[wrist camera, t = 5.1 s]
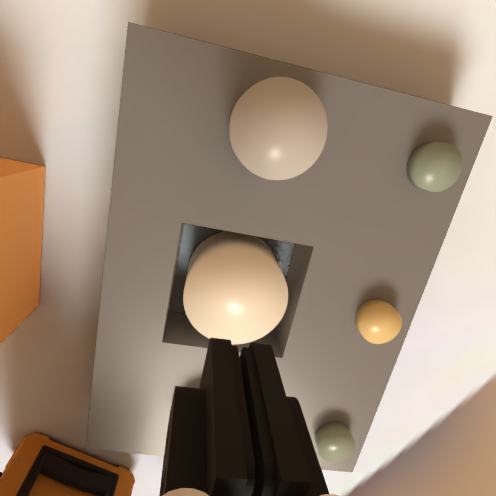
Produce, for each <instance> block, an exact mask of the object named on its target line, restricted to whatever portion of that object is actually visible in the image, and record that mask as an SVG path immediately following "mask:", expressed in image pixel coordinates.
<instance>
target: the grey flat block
mask: <svg viewBox="0 0 496 496" xmlns="http://www.w3.org/2000/svg"><path fill="white" fill-rule="evenodd" d="M491 119H492V116H489V115H486V114H482V113H478V112H474V111H470V110H466V109H462V108H458V107H455V106H451V105H447V104H443V103H439V102H435V101H431V100H428V99H424V98H420V97H416V96H412V95H408V94H404V93H400V92H397V91H393V90H389V89H385V88H381V87H377V86H373V85H370V84H366V83H362V82H358V81H354V80H350V79H346V78H343V77H339V76H335V75H331V74H327V73H323V72H319V71H315V70H312V69H308V68H304V67H300V66H296V65H292V64H288V63H285V62H281V61H277V60H273V59H269V58H265V57H261V56H257V55H254V54H250V53H246V52H242V51H238V50H234V49H230V48H227V47H223V46H219V45H215V44H211V43H207V42H203V41H199V40H196V39H192V38H188V37H184V36H180V35H176V34H172V33H169V32H165V31H161V30H157V29H153V28H149V27H145V26H142V25H138V24H134V23H130V22H128V30H127V40H126V50H125V60H124V70H123V80H122V89H121V99H120V109H119V119H118V129H117V139H116V149H115V159H114V169H113V179H112V189H111V199H110V209H109V219H108V229H107V238H106V248H105V258H104V268H103V278H102V288H101V298H100V308H99V318H98V328H97V338H96V348H95V358H94V368H93V378H92V387H91V397H90V407H89V417H88V427H87V437H86V447H85V449H89V450H101V451H112V452H124V453H135V454H147V455H159V456H164V452H165V444H166V436H167V429H168V422H169V416H170V410H171V405H172V399H173V394H174V389H175V386H181V387H192V388H199V386H200V382H201V377H202V372H203V368H204V363H205V358H206V353H207V349H208V344H209V340H210V339H209V338H207V337H205V336H204V335H202V334H201V333H200V332H198V331H197V330H196V329H195V328H194V327H193V325H192V324H191V322H190V321H189V319H188V317H187V315H186V314H181V313H174V312H169V310H170V304H171V298H172V292H173V286H174V280H175V274H176V268H177V262H178V256H179V250H180V244H181V238H182V232H183V226H184V223H186V224H191V225H197V226H202V227H208V228H213V229H219V230H224V231H230V232H235V233H241V234H246V235H252V236H257V237H263V238H268V239H274V240H279V241H285V242H290V243H295V247H294V251H293V254H292V258H291V262H290V266H289V270H288V273H287V277H286V283H287V288H288V303H287V308H286V310H285V313H284V315H283V317H282V319H281V320H280V322H279V323H278V324H277V326H276V327H275V328H274V329H273V330H272V331H270V332H269V333H268V334H266V335H265V336H263V337H262V338H260V339H258V340H255V341H252V343H261V344H269V345H271V346H272V348H273V352H274V355H275V359H276V362H277V366H278V369H279V372H280V376H281V379H282V383H283V386H284V390H285V393H286V396H289V397H296V398H297V399H298V401H299V403H300V406H301V409H302V412H303V415H304V418H305V421H306V424H307V427H308V430H309V434H310V437H311V440H312V443H313V446H314V449H315V452H316V455H317V458H318V461H319V464H320V467H321V469H322V470H333V471H345V472H353V470H354V467H355V465H356V462H357V459H358V457H359V454H360V452H361V449H362V447H363V444H364V442H365V439H366V437H367V434H368V432H369V429H370V426H371V424H372V421H373V419H374V416H375V414H376V411H377V409H378V406H379V404H380V401H381V399H382V396H383V393H384V391H385V388H386V386H387V383H388V381H389V378H390V376H391V373H392V371H393V368H394V365H395V363H396V360H397V358H398V355H399V353H400V350H401V348H402V345H403V343H404V340H405V338H406V335H407V332H408V330H409V327H410V325H411V322H412V320H413V317H414V315H415V312H416V310H417V307H418V304H419V302H420V299H421V297H422V294H423V292H424V289H425V287H426V284H427V282H428V279H429V277H430V274H431V271H432V269H433V266H434V264H435V261H436V259H437V256H438V254H439V251H440V249H441V246H442V244H443V241H444V238H445V236H446V233H447V231H448V228H449V226H450V223H451V221H452V218H453V216H454V213H455V210H456V208H457V205H458V203H459V200H460V198H461V195H462V193H463V190H464V188H465V185H466V183H467V180H468V177H469V175H470V172H471V170H472V167H473V165H474V162H475V160H476V157H477V155H478V152H479V150H480V147H481V144H482V142H483V139H484V137H485V134H486V132H487V129H488V127H489V124H490V122H491ZM250 343H251V342H249V343H245V344H234V345H232V346H238V350H239V357H240V354H241V350H242V348H243V347H249V345H250Z"/></svg>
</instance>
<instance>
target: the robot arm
mask: <svg viewBox="0 0 496 496" xmlns="http://www.w3.org/2000/svg"><path fill="white" fill-rule="evenodd" d="M160 496H338V495H333V494H329V491H328V488H327V485H326V482H325V479H324V476H323V473H322V470H321V467H320V464H319V461H318V458H317V455H316V452H315V449H314V446H313V443H312V440H311V437H310V434H309V430H308V427H307V424H306V421H305V418H304V415H303V412H302V409H301V406H300V403H299V401H298V399H297V398H296V397H289V396H286V393H285V390H284V386H283V383H282V379H281V376H280V372H279V369H278V366H277V362H276V359H275V355H274V352H273V348H272V346H271V345H269V344H261V343H252V342H251V343H250V345H249V347H243V348H242V350H241V354H240V357H239V350H238V346H232V344H231V340H227V339H219V338H210V340H209V344H208V349H207V353H206V358H205V363H204V368H203V372H202V377H201V382H200V386H199V388H192V387H181V386H175V389H174V394H173V399H172V405H171V410H170V416H169V422H168V429H167V436H166V444H165V452H164V461H163V470H162V479H161V487H160Z"/></svg>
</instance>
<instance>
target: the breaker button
mask: <svg viewBox="0 0 496 496" xmlns="http://www.w3.org/2000/svg"><path fill="white" fill-rule="evenodd" d="M287 303H288V288H287V283H286V281H285V278H284V276H283V273H282V271H281V269H280V267H279V265H278V263H277V260H276V258H275V256H274V254H273V252H272V251H271V249H270V248H269V246H268V245H267V244H266V243H265V242H264V241H262V240H261V239H260V238H258V237H256V236H252V235H246V234H241V233H235V232H230V231H224V232H220V233H217V234H215V235H212V236H211V237H209V238H207V239H206V240H204V241H203V242H202V243H201V244H200V245H199V246H198V247H197V248H196V250H195V251H194V253H193V255H192V256H191V259H190V262H189V266H188V271H187V276H186V282H185V287H184V294H183V304H184V309H185V312H186V315H187V317H188V319H189V321H190V322H191V324H192V325H193V327H194V328H195V329H196V330H197V331H198V332H200V333H201V334H202V335H204V336H205V337H207V338H209V339H210V338H219V339H227V340H231V344H232V345H234V344H245V343H249V342H252V341H255V340H258V339H260V338H262V337H263V336H265V335H266V334H268V333H269V332H270V331H272V330H273V329H274V328H275V327H276V326H277V324H278V323H279V322H280V320H281V319H282V317H283V315H284V313H285V310H286V308H287Z"/></svg>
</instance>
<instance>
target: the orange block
mask: <svg viewBox="0 0 496 496" xmlns="http://www.w3.org/2000/svg"><path fill="white" fill-rule="evenodd" d="M44 186H45V166H41V165H36V164H31V163H26V162H21V161H16V160H10V159H5V158H0V344H1V343H2V342H3V341H4V340H5V339H6V338H7V337H8V336H9V335H10V334H11V333H12V332H13V331H14V330H15V329H16V328H17V327H18V326H19V325H20V324H21V323H22V322H23V321H24V320H25V319H26V318H27V317H28V316H29V315H30V314H31V313H32V312H33V311H34V310H35V309H36V307H37V306H38V305H39V298H40V275H41V253H42V231H43V208H44Z"/></svg>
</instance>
